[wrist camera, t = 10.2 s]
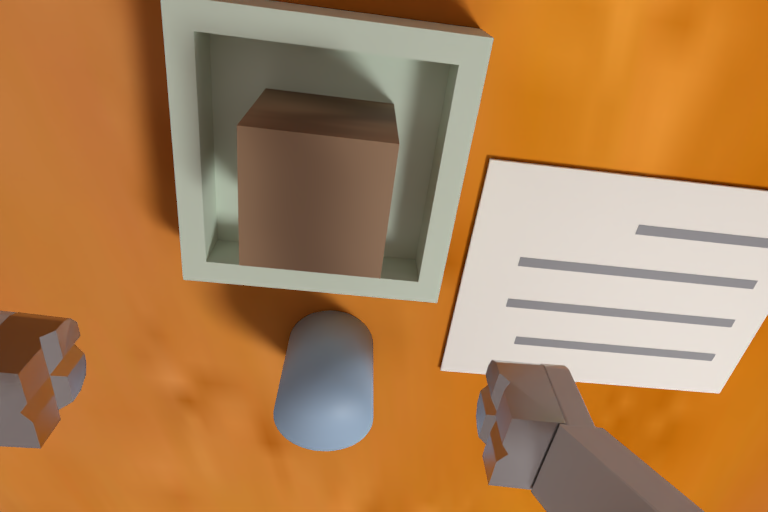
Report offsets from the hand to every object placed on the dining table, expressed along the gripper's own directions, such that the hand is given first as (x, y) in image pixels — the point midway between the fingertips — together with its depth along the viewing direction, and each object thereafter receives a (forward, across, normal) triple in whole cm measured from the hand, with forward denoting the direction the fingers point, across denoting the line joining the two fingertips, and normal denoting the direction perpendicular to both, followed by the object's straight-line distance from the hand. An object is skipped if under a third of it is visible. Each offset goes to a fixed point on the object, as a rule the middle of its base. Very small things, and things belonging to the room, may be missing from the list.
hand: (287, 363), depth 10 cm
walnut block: (+13, 0, 0) cm, 13 cm away
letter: (+14, -14, +6) cm, 21 cm away
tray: (+13, 0, 0) cm, 13 cm away
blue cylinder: (+13, 0, +11) cm, 17 cm away
